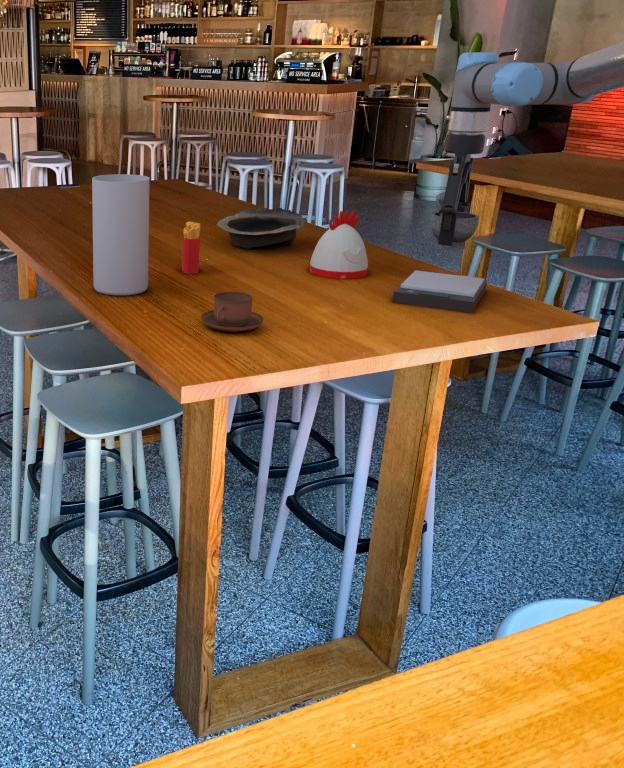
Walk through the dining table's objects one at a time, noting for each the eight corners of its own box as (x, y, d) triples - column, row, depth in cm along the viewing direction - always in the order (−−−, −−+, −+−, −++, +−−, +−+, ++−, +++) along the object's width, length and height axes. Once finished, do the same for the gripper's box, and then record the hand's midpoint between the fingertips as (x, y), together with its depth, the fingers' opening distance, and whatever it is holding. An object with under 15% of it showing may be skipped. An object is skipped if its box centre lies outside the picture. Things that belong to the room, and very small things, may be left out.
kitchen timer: (378, 275, 193) (386, 213, 187) (330, 280, 188) (336, 217, 183) (345, 263, 205) (351, 204, 199) (298, 267, 201) (304, 208, 195)
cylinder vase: (154, 295, 177) (155, 180, 168) (99, 298, 175) (98, 182, 165) (140, 281, 188) (141, 173, 179) (89, 284, 186) (87, 175, 177)
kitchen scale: (471, 313, 164) (474, 298, 162) (392, 302, 171) (394, 288, 170) (485, 291, 179) (487, 277, 178) (412, 282, 187) (414, 269, 186)
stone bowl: (304, 237, 234) (307, 206, 230) (302, 262, 212) (306, 228, 208) (220, 232, 239) (222, 202, 235) (211, 256, 217) (212, 223, 213)
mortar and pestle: (446, 240, 178) (454, 186, 174) (483, 248, 171) (493, 191, 166) (413, 246, 173) (420, 190, 168) (450, 254, 165) (459, 195, 161)
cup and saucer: (259, 339, 149) (261, 307, 146) (196, 333, 152) (197, 302, 149) (265, 320, 159) (267, 290, 157) (206, 316, 162) (207, 286, 160)
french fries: (180, 267, 202) (181, 219, 197) (195, 266, 202) (197, 219, 197) (184, 275, 194) (185, 226, 189) (200, 275, 194) (202, 226, 189)
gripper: (456, 128, 174) (440, 230, 182) (436, 136, 156) (420, 248, 165) (493, 130, 170) (475, 233, 179) (477, 137, 153) (459, 252, 161)
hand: (449, 240), depth 172 cm, fingers closed on mortar and pestle, 10 cm apart
